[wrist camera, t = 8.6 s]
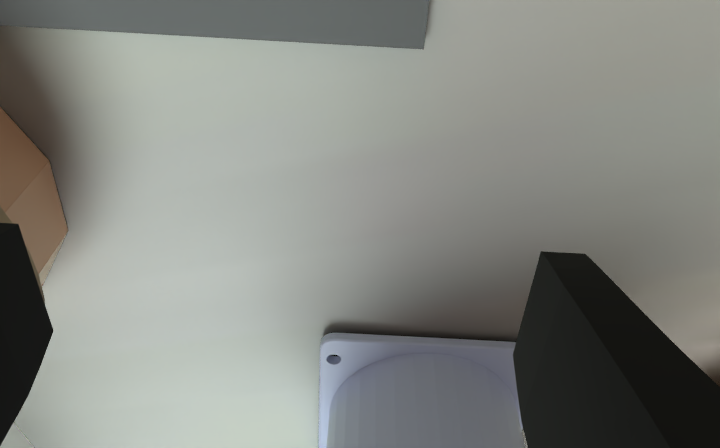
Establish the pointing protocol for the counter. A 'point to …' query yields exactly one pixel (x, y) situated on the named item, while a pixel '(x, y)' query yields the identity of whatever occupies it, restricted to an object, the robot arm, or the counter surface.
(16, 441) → the milk
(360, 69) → the counter surface
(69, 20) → the mat
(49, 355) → the counter surface
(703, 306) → the counter surface
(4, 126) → the bowl
